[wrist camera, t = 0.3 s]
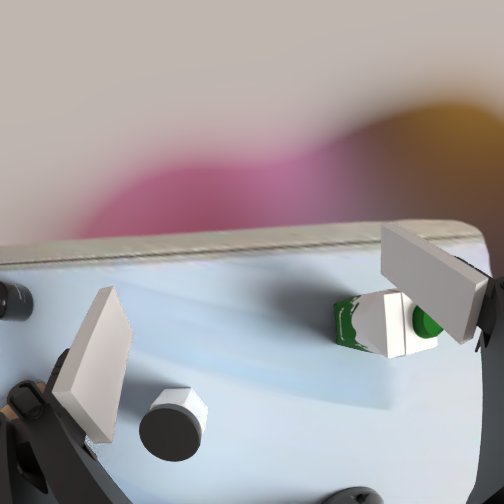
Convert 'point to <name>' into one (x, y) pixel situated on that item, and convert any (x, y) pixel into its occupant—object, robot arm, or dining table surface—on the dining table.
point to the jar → (174, 425)
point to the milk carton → (385, 324)
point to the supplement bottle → (15, 302)
